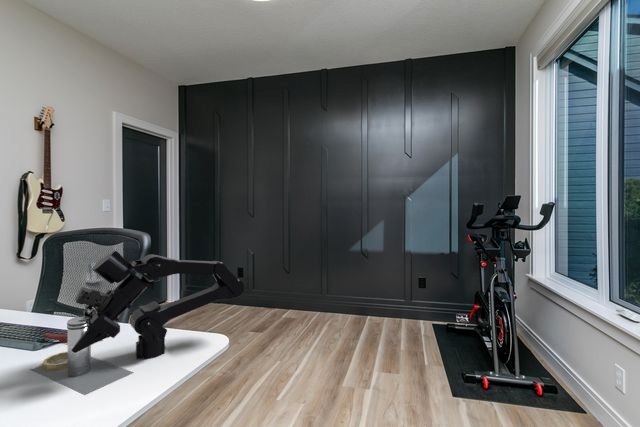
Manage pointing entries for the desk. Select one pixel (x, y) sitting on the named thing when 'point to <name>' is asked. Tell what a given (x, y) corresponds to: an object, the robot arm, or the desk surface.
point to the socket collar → (55, 367)
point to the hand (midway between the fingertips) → (72, 347)
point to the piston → (81, 359)
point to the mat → (86, 376)
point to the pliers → (58, 337)
